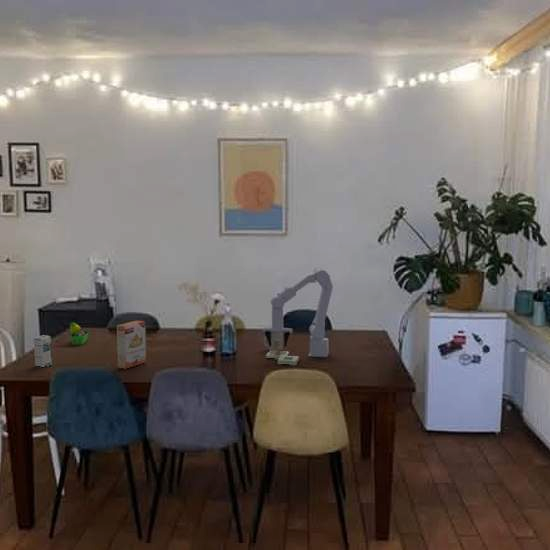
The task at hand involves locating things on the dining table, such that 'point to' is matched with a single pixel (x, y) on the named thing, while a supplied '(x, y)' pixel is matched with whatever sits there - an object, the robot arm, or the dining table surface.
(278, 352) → the peg
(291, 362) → the holder
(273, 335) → the cup
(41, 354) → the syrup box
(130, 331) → the cracker box
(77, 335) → the fruit basket
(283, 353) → the tray
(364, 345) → the dining table surface
